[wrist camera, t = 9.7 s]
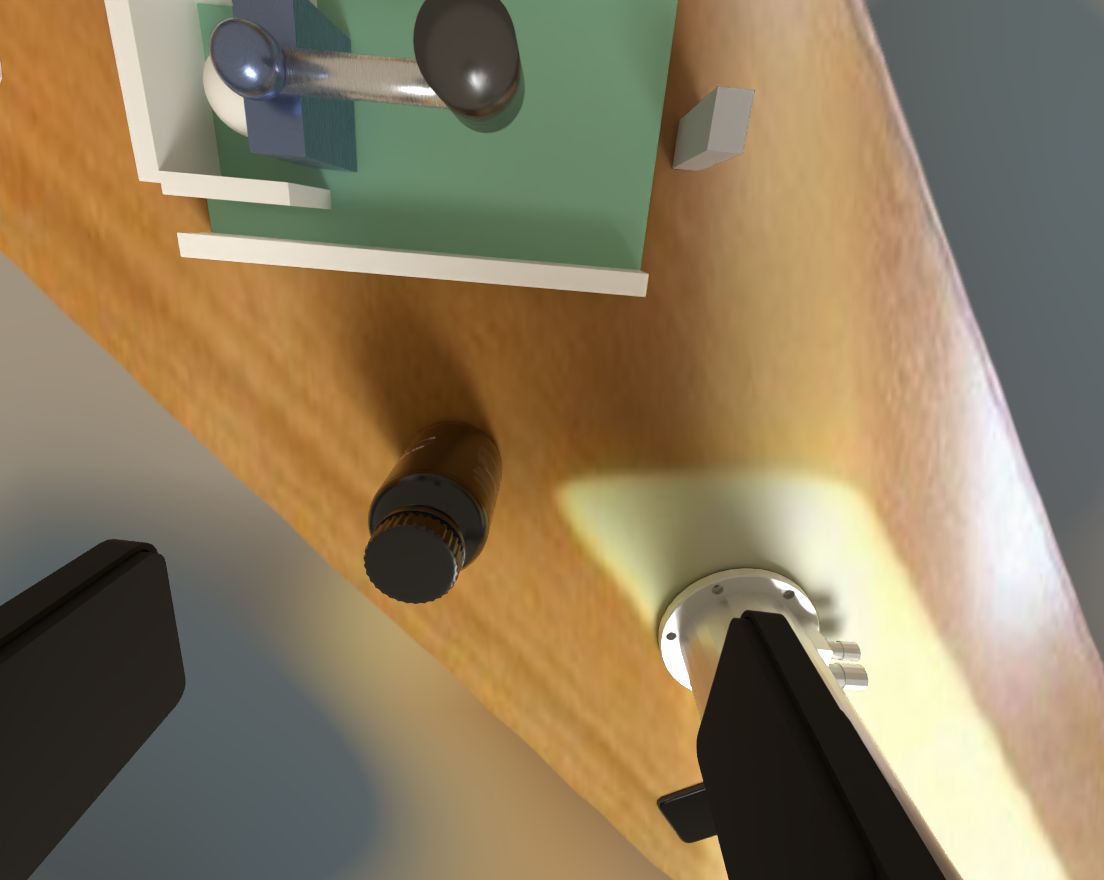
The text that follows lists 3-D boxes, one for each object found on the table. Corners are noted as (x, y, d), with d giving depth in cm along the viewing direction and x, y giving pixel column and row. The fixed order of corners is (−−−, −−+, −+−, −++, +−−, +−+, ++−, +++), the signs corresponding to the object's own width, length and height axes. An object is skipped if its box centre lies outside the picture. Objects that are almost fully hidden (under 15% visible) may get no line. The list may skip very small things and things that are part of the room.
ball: (208, 47, 26) (296, 62, 27) (221, 138, 28) (303, 148, 29) (184, 21, 23) (286, 40, 24) (200, 127, 24) (295, 139, 25)
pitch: (733, -32, 26) (796, -122, 20) (679, 292, 32) (712, 309, 26) (178, -90, 26) (42, -206, 19) (227, 253, 32) (137, 259, 25)
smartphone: (682, 838, 53) (825, 791, 50) (684, 847, 52) (829, 800, 49) (652, 795, 51) (800, 744, 48) (654, 804, 50) (804, 752, 47)
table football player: (535, 58, 26) (522, -75, 15) (528, 188, 29) (511, 159, 17) (300, 34, 26) (101, -120, 15) (311, 168, 28) (146, 125, 17)
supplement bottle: (413, 409, 35) (349, 491, 24) (511, 431, 36) (493, 521, 25) (400, 495, 38) (336, 606, 27) (492, 515, 38) (467, 631, 27)
